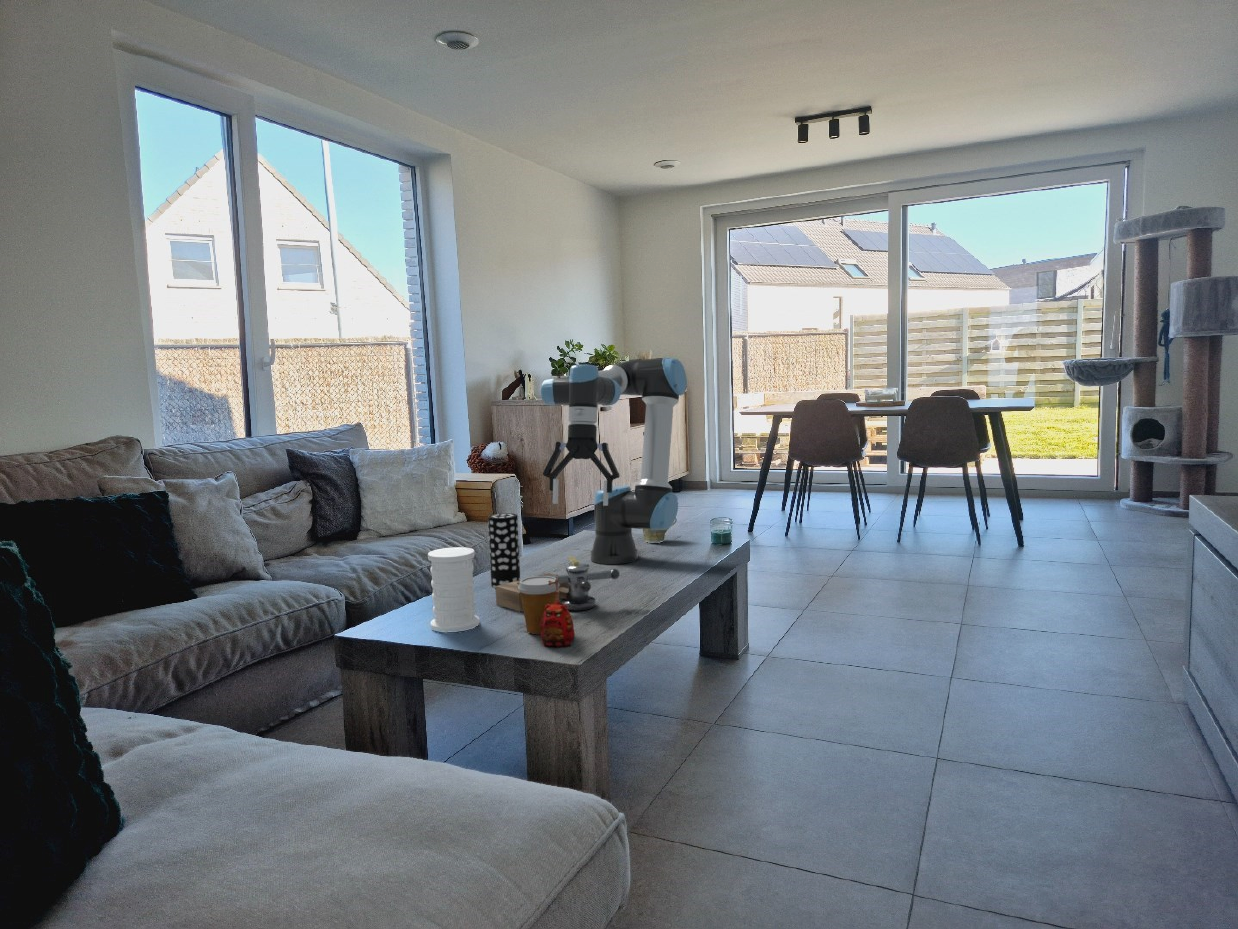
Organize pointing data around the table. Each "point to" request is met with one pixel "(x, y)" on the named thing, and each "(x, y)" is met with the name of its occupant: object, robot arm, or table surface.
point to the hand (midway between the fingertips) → (580, 504)
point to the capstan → (581, 584)
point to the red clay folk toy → (556, 623)
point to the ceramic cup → (655, 534)
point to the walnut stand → (511, 595)
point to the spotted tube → (504, 548)
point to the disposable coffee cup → (536, 599)
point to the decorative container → (453, 589)
